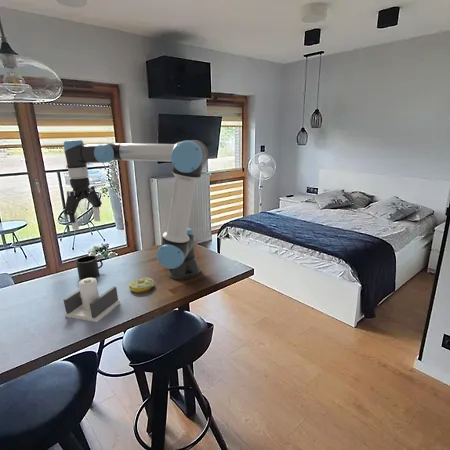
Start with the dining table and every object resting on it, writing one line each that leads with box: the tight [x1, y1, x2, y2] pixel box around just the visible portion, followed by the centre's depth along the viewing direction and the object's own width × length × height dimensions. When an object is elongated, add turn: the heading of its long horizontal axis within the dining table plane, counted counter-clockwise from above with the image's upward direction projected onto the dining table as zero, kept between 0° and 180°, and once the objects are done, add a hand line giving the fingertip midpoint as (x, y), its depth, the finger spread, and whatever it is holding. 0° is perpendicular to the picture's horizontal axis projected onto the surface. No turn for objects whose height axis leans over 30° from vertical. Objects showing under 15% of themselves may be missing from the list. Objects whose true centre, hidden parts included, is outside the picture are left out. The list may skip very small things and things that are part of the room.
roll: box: [78, 277, 100, 311], centre depth 124 cm, size 6×6×11 cm
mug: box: [75, 255, 103, 280], centre depth 157 cm, size 9×12×9 cm
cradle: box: [62, 286, 121, 323], centre depth 125 cm, size 15×14×8 cm
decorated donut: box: [128, 276, 155, 294], centre depth 142 cm, size 10×11×4 cm
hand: (87, 225), depth 141 cm, fingers open, 13 cm apart
